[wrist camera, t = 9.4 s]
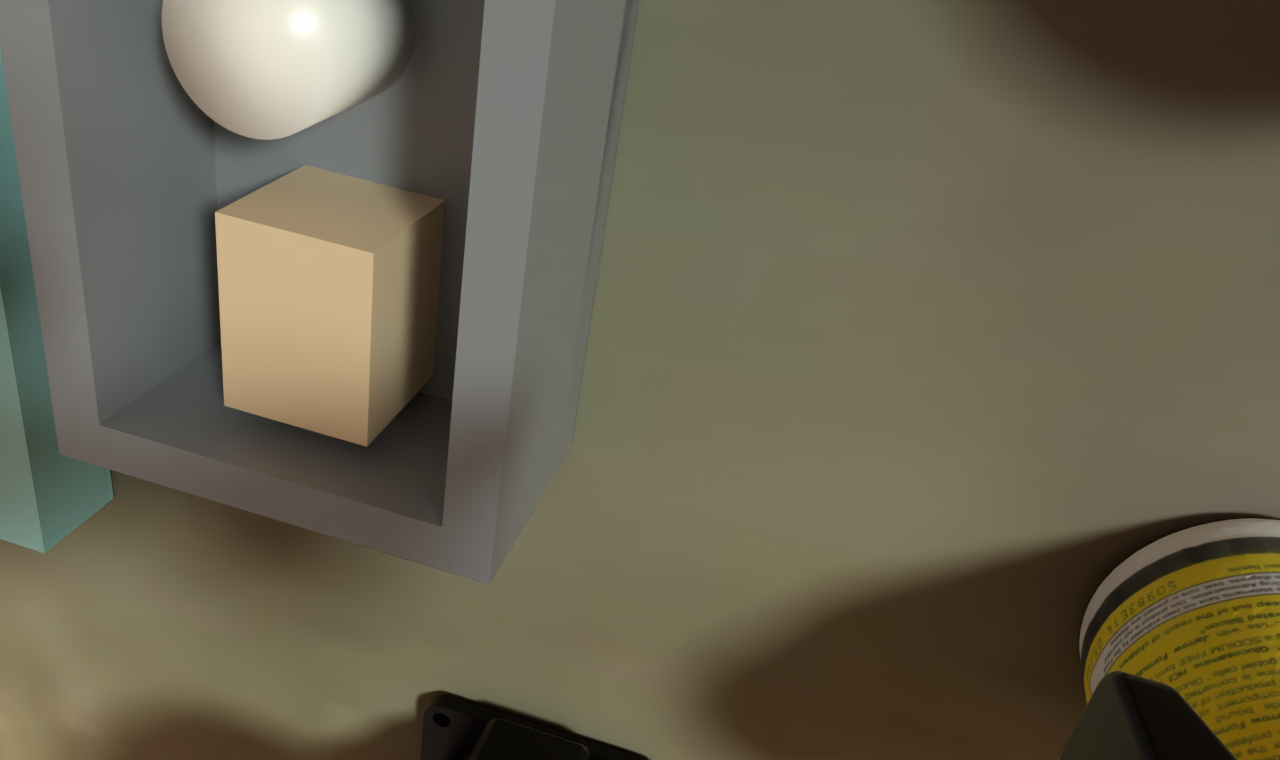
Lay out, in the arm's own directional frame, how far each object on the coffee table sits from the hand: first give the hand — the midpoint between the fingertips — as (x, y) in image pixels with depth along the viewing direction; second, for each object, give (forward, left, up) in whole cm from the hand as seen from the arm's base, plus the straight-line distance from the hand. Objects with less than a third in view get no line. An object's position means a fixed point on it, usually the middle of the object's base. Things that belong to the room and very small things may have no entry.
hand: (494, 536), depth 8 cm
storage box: (-2, +7, -13) cm, 15 cm away
